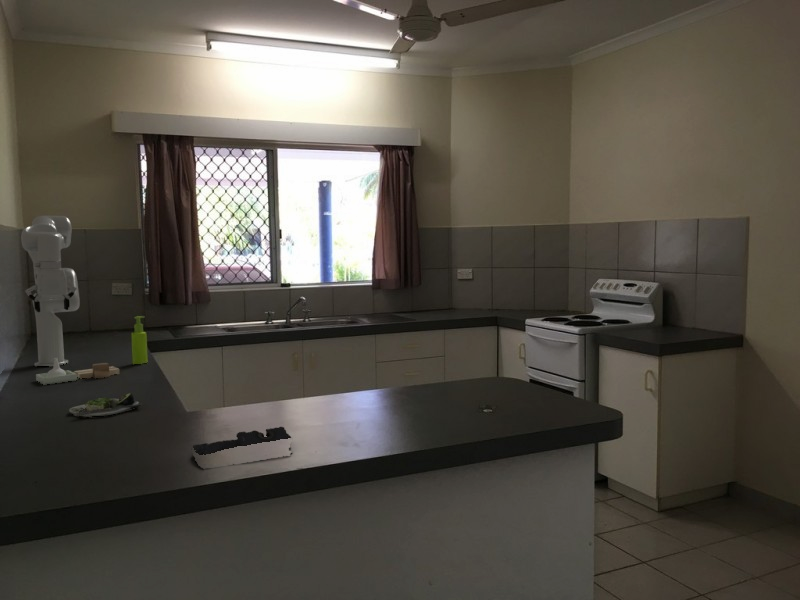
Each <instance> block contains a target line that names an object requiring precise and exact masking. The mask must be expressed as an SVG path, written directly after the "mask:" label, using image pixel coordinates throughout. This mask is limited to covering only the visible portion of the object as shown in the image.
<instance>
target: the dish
mask: <svg viewBox="0 0 800 600" xmlns="http://www.w3.org/2000/svg"><path fill="white" fill-rule="evenodd" d="M64 371H65V372H66V375H63V376H55V377H47V373H48V372H43V373H37V374H35V380H36V382H37V381H38V382H37V383H39V382H40V383H39V384H41V385H42V384H43V385H42V386H48V385H47V384H50V385H56V384H55V383H57V384H63V383H62V382H65V383H69V382H68V381H72V382H77V381H78V378H77V374H76V373H74V371H71V370H69V369H68V370H64ZM76 380H77V381H76Z"/></svg>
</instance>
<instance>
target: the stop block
mask: <svg viewBox="0 0 800 600" xmlns="http://www.w3.org/2000/svg"><path fill="white" fill-rule="evenodd" d="M109 367H110V364H109V363H108V362H100V363H94V364H92V369H93V378H92V379H96V378H98V379H103V378H104V377H105V378H110V376H111V375H110V374H109ZM105 378H104V379H105ZM96 380H97V379H96Z"/></svg>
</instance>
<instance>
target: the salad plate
mask: <svg viewBox="0 0 800 600" xmlns="http://www.w3.org/2000/svg"><path fill="white" fill-rule="evenodd" d="M142 405H143V403H140V402H139V401H137V400H135V397H134V395H133V393H132V392H130V393H127V394H125V395H121V396H120V397H119V398H110V397H106V396H105V397H99V398H97V399H96V398H95V399H93V400H88V401H87V402H86V403H85V404H84V403H83V404H81V405H76V406H72V407H71V408H69V409H68V413H69V414H70V415H72V414H73V416H75V417H79V416H83V417H82V418H86V417H89V418H93V417H92V416H104V417H106V416H105V415H111V414H115V413H119V412H122V411H125V410H129V409H133V408H136V407H137V408H139V407H141V406H142ZM85 408H86V409H87V410H86V411H82V412H80V413H79V411H80V410H83V409H85ZM137 408H136V409H137Z"/></svg>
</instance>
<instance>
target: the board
mask: <svg viewBox="0 0 800 600" xmlns="http://www.w3.org/2000/svg"><path fill="white" fill-rule="evenodd" d="M73 372H74V373H76V374H77V377H78V378H77V379H79V378H80V379H79V380H83V379H82V378H87V379H92V378H91V377H93V368H89V369H82V370H81V369H79V370H74V371H73ZM109 374H110V376H114V374H117V375H120V368H118V367H116V366H114V365H112V366H109Z"/></svg>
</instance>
